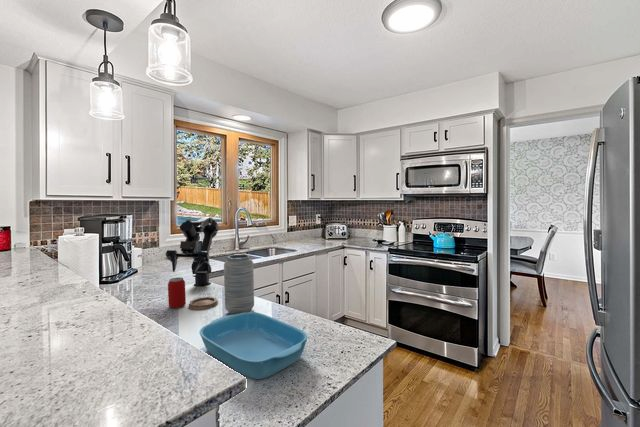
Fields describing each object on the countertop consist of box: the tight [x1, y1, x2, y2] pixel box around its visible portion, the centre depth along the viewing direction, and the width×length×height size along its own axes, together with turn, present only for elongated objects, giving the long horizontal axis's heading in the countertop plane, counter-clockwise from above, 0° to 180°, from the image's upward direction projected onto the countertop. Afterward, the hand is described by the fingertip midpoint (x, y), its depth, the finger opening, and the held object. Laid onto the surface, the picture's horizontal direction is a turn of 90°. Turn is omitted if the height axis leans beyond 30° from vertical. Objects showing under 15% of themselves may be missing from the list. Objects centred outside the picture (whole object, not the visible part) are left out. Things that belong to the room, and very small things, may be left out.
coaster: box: [188, 296, 219, 311], centre depth 135 cm, size 12×12×2 cm
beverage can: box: [167, 276, 187, 309], centre depth 133 cm, size 7×7×12 cm
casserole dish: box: [199, 311, 308, 380], centre depth 93 cm, size 37×22×7 cm, turn 48°
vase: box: [223, 253, 255, 315], centre depth 126 cm, size 12×12×23 cm
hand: (184, 271), depth 141 cm, fingers open, 9 cm apart
